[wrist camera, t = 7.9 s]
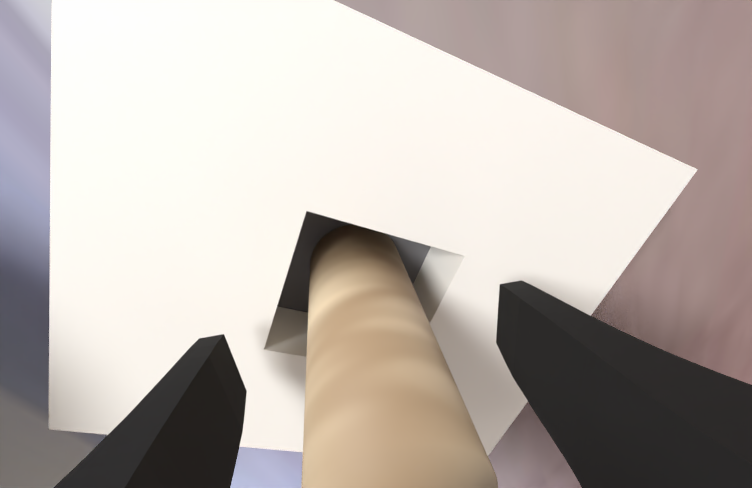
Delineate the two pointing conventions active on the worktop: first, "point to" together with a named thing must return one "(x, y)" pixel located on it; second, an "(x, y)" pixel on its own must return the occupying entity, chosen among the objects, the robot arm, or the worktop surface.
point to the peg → (379, 378)
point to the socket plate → (306, 197)
